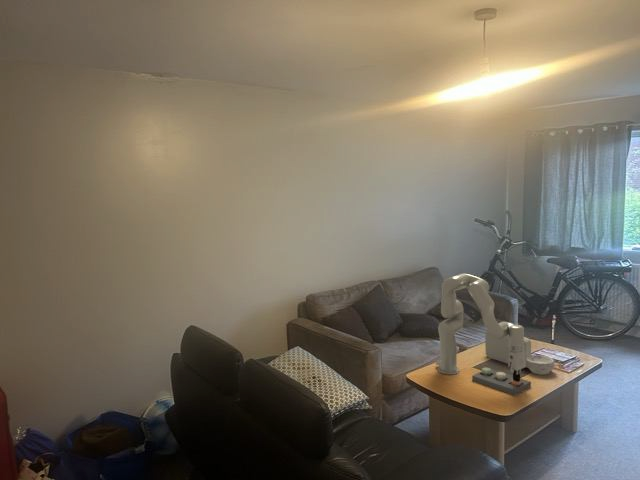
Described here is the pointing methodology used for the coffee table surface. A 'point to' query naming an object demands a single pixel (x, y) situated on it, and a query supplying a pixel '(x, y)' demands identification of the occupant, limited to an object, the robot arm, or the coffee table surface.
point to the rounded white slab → (502, 347)
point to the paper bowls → (539, 364)
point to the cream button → (500, 375)
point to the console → (501, 382)
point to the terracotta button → (515, 383)
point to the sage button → (486, 371)
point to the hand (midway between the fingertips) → (516, 380)
